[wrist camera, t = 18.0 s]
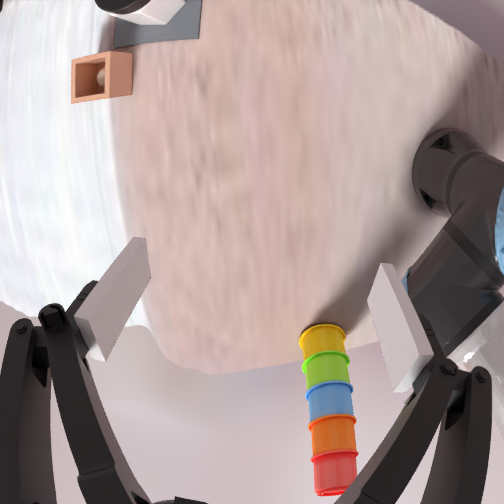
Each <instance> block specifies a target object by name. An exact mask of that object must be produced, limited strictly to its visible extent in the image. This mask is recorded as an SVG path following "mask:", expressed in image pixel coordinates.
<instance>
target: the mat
mask: <svg viewBox="0 0 504 504" xmlns="http://www.w3.org/2000/svg"><path fill="white" fill-rule="evenodd" d="M185 1H186V3H185V4H184V6H183V7H182V8H181V9H180V10H179V11H178V12H177V13H176V14H175V15H174V16H173V17H172V19H171V20H170V21H169V22H168V23H167V24H166V25H139V24H136V23H133V22H130V21H127V20H124V19H121V18H118V17H116V23H115V34H114V48H119V47H125V46H131V45H138V44H145V43H153V42H162V41H173V40H187V39H199V27H200V16H201V6H202V0H185Z"/></svg>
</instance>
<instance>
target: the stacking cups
mask: <svg viewBox="0 0 504 504" xmlns="http://www.w3.org/2000/svg"><path fill="white" fill-rule="evenodd" d="M345 338H346V336H345V332H344V331H343V329H341V328H340V327H339V326H336V325H333V324H319V325H315V326H313V327H310V328H309V329H307V330H306V331H304V332H303V333H302V335H301V336H300V339H299V345H300V347H301V349H302V350H303V356H304V362H303V364H302V370H303V372H304V373H305V374H306V381H307V392H306V394H305V396H306V399H307V400H308V401H309V410H310V423H309V425H308V429H309V430H310V431H311V432H312V449H313V457H312V458H311V461H312V462H313V463H314V484H315V492H316V493H317V496H334V495H341V494H343V493H344V492H345V490H346V489H347V488H348V487H349V486H350V484H351V483H352V482H353V481H354V480H355V478H356V477H357V468H356V456H357V455H358V452H357V451H356V441H355V431H354V424H355V423H356V418H355V417H354V415H353V406H352V399H351V393H352V392H353V387H352V385H351V384H350V380H349V374H348V368H347V367H348V366H349V362H350V360H349V357H348V356H347V355H346V354H345V347H344V342H345ZM322 494H323V495H322Z"/></svg>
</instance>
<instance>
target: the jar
mask: <svg viewBox="0 0 504 504" xmlns="http://www.w3.org/2000/svg"><path fill="white" fill-rule="evenodd" d="M95 2H96V4H97V6H98V7H99V8H101V9H102V10H104V11H107V12H109V14H110V15H111V16H114V17H118V18H121V19H124V20H127V21H130V22H133V23H136V24H139V25H166V24H167V23H168V22H169V21H170V20H171V19H172V17H173V16H174V15H175V14H176V13H177V12H178V11H179V10H180V9H181V8H182V7H183V6H184V4H185V3H186V1H185V0H95Z"/></svg>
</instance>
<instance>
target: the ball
mask: <svg viewBox="0 0 504 504" xmlns="http://www.w3.org/2000/svg"><path fill="white" fill-rule="evenodd" d="M97 82H98V84H99V85H101V86H105V68H103V69H101V70H100V71H99V73H98V74H97Z"/></svg>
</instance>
